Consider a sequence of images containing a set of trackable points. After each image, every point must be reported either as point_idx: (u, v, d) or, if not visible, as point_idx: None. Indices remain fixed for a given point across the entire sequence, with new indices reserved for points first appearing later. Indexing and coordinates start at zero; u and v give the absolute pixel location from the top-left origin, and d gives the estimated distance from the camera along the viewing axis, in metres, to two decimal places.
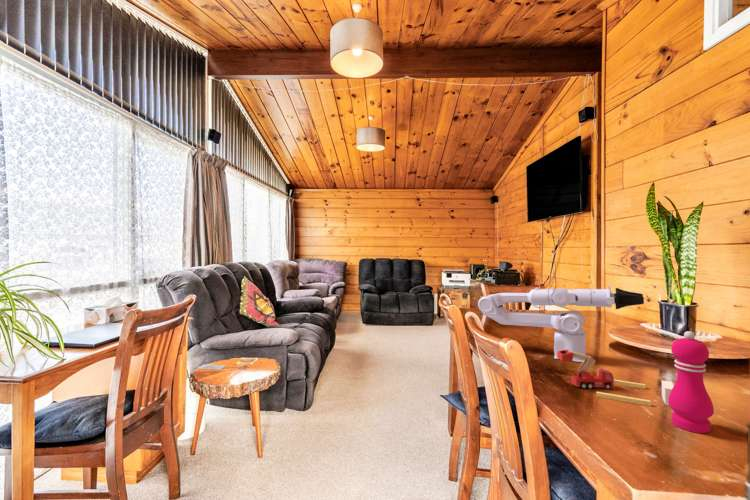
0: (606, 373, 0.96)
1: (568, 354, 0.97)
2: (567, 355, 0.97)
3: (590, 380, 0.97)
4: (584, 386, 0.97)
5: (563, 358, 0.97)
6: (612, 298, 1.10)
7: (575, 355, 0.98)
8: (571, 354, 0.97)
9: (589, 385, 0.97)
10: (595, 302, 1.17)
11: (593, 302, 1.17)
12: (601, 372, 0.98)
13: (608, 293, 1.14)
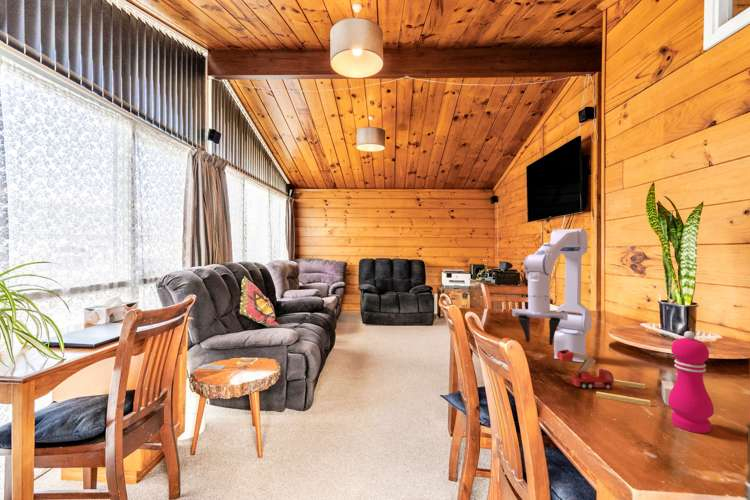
0: (606, 373, 0.96)
1: (568, 354, 0.97)
2: (567, 355, 0.97)
3: (590, 380, 0.97)
4: (584, 386, 0.97)
5: (563, 358, 0.97)
6: (512, 314, 1.08)
7: (575, 355, 0.98)
8: (571, 354, 0.97)
9: (589, 385, 0.97)
10: None
11: None
12: (601, 372, 0.98)
13: (523, 312, 1.05)
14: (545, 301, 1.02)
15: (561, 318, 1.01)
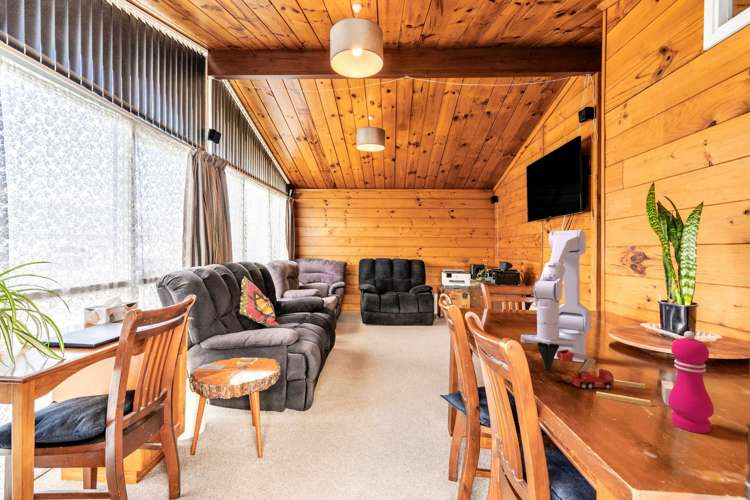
0: (606, 373, 0.96)
1: (568, 354, 0.97)
2: (567, 355, 0.97)
3: (590, 380, 0.97)
4: (584, 386, 0.97)
5: (563, 358, 0.97)
6: (521, 340, 1.06)
7: (575, 355, 0.98)
8: (571, 354, 0.97)
9: (589, 385, 0.97)
10: None
11: None
12: (601, 372, 0.98)
13: (532, 338, 1.04)
14: (555, 328, 1.00)
15: (571, 346, 1.00)
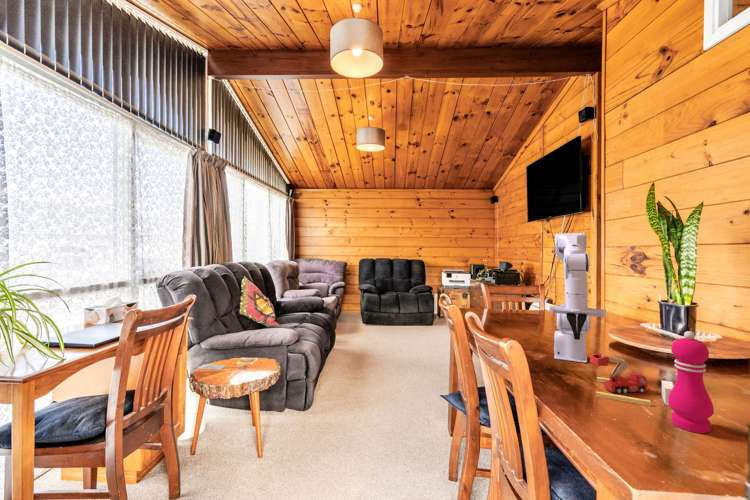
0: (640, 376, 0.94)
1: (604, 358, 0.93)
2: (603, 359, 0.93)
3: (625, 384, 0.93)
4: (619, 391, 0.93)
5: (599, 363, 0.93)
6: None
7: (609, 359, 0.94)
8: (607, 358, 0.93)
9: (624, 390, 0.93)
10: None
11: None
12: (634, 375, 0.95)
13: (561, 309, 1.08)
14: (583, 298, 1.05)
15: (599, 315, 1.05)
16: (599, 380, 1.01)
